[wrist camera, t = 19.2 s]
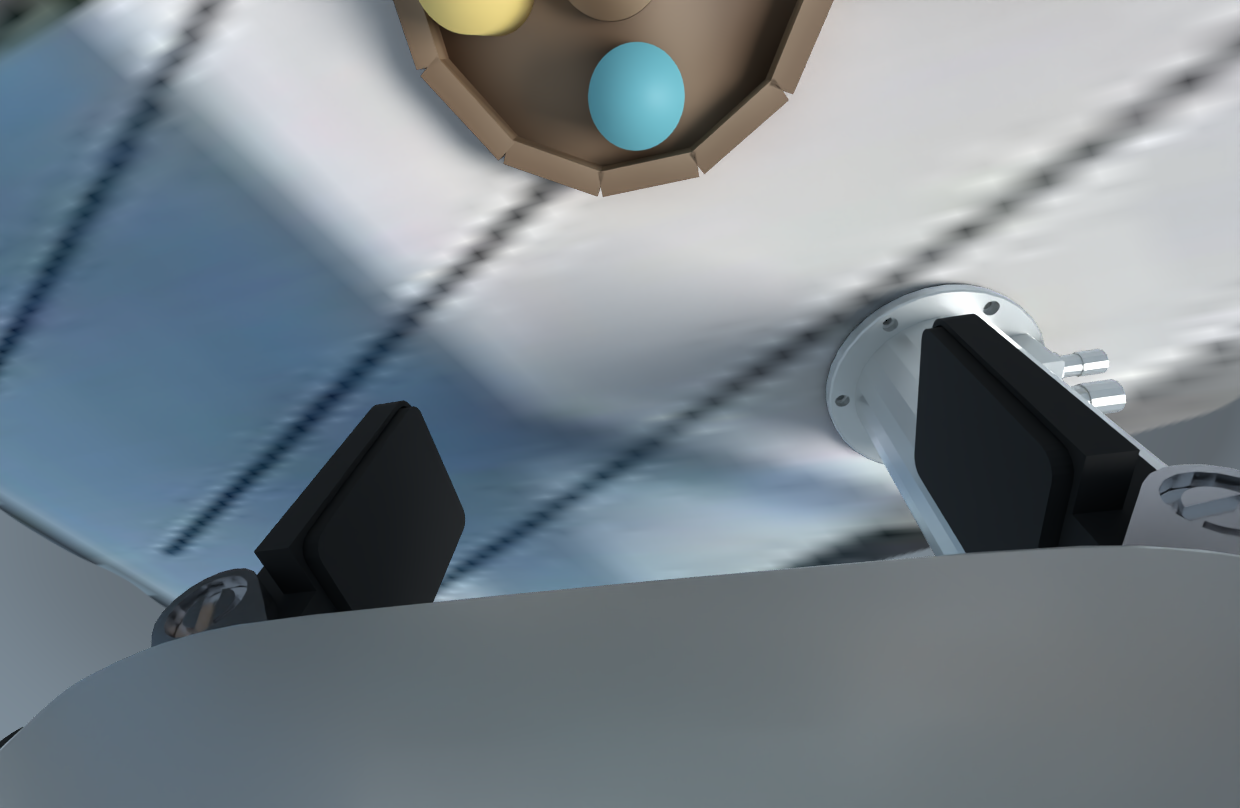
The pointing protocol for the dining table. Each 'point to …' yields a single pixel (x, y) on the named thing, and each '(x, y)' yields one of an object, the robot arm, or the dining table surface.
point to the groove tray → (567, 56)
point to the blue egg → (636, 96)
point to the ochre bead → (479, 15)
